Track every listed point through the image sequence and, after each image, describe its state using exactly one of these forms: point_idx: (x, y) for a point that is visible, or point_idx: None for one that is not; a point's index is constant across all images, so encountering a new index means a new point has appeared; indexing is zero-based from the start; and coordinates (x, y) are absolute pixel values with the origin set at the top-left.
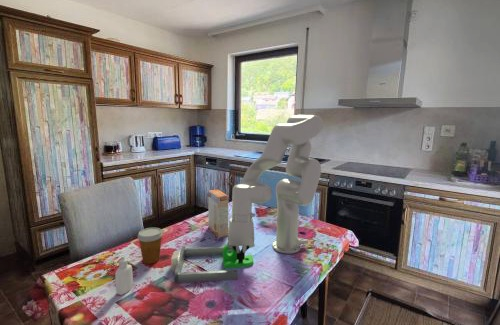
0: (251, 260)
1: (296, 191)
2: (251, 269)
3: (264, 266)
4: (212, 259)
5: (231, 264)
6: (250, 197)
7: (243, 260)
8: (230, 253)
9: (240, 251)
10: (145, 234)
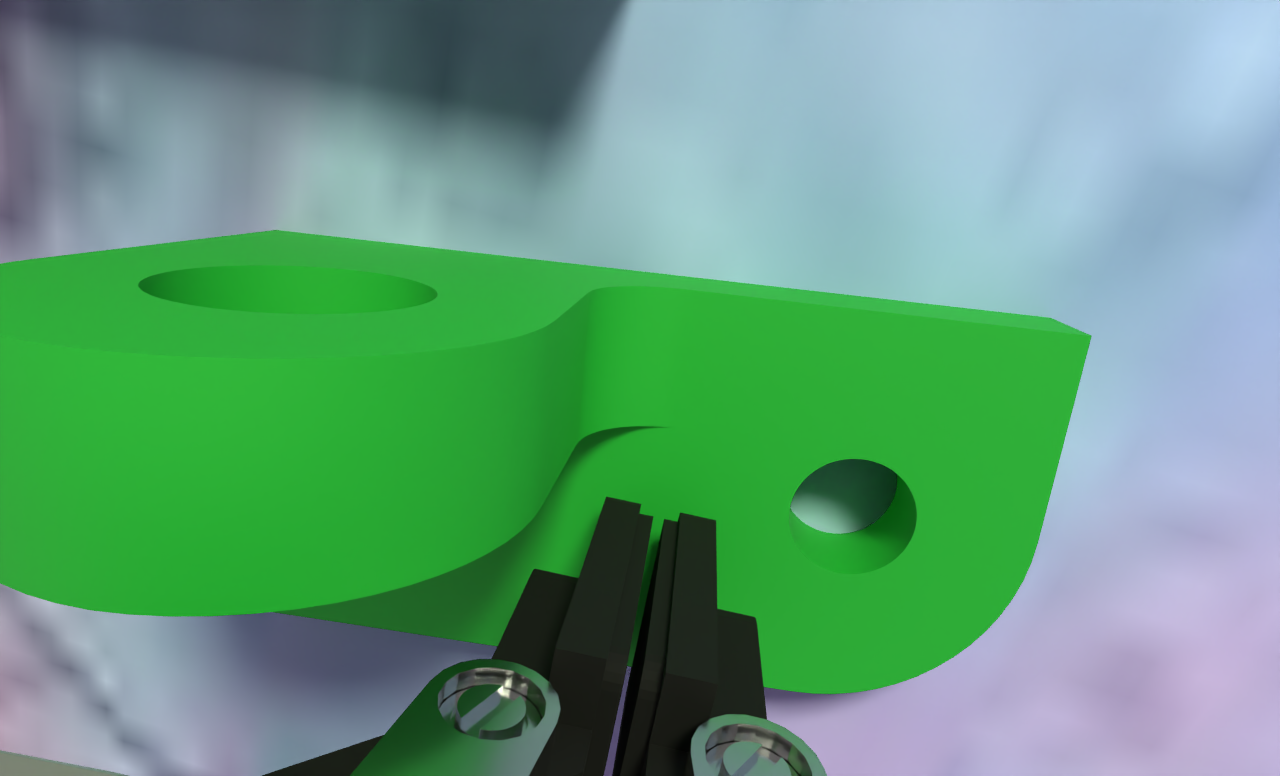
0: (949, 611)
1: None
2: (830, 768)
3: (1168, 764)
4: (26, 90)
5: (402, 620)
6: None
7: (740, 546)
8: (386, 293)
9: (605, 764)
10: None
